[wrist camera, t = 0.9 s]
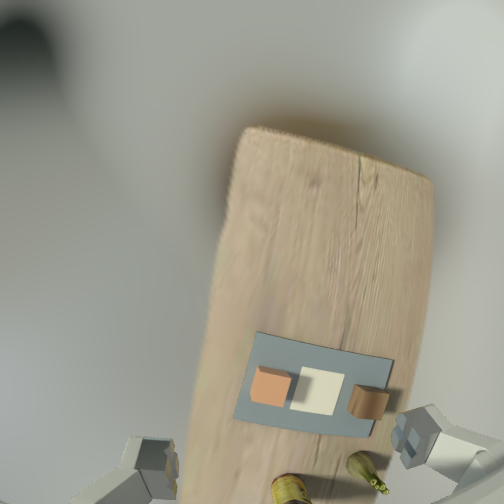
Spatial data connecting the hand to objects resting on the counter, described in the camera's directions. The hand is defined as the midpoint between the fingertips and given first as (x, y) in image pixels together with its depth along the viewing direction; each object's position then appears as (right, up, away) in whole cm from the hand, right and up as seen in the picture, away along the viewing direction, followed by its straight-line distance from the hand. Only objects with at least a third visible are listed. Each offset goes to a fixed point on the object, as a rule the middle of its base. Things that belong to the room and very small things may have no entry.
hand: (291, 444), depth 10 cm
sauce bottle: (+5, -37, +39) cm, 55 cm away
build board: (+10, -18, +42) cm, 47 cm away
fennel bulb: (+19, -34, +41) cm, 56 cm away
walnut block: (+19, -20, +42) cm, 50 cm away
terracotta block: (+1, -15, +41) cm, 44 cm away
